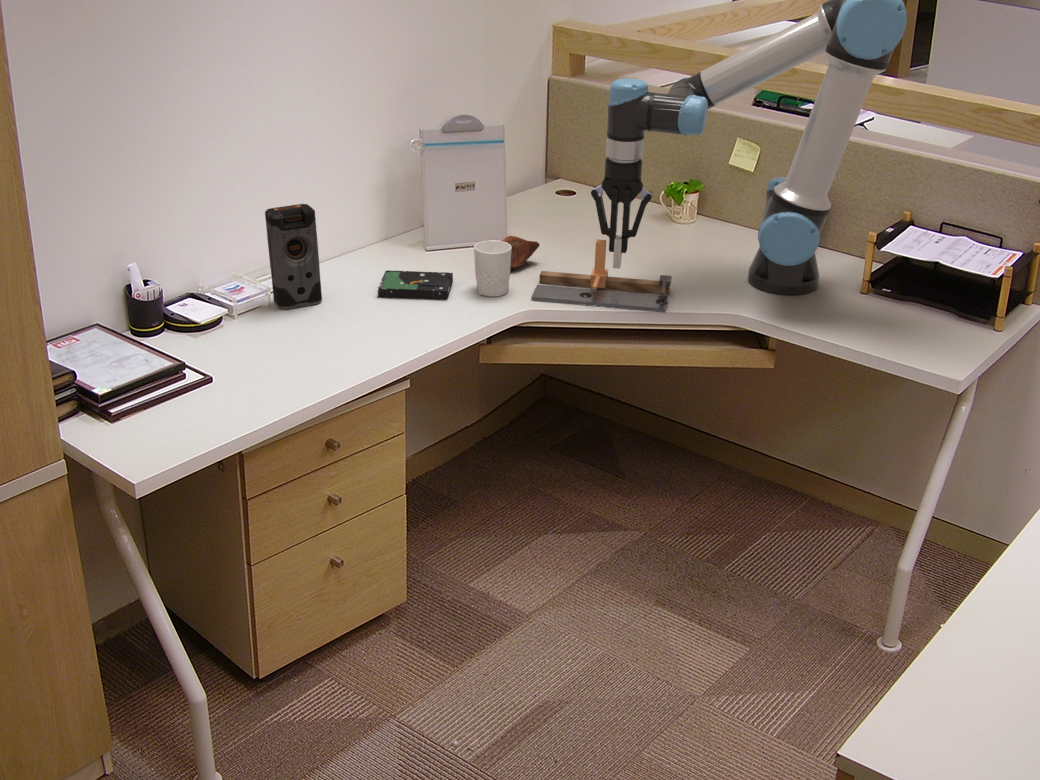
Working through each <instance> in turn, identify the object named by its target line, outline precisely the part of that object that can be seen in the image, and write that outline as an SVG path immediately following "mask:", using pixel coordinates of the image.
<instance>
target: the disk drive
mask: <svg viewBox="0 0 1040 780" xmlns="http://www.w3.org/2000/svg"><path fill="white" fill-rule="evenodd" d="M453 275H454V274H453V272H441V271H440V272H439V271H415V270H414V271H412V270H410V271H409V270H385V272H384V273H383V276H382V278H381V281H380V283H379V286H378V287H377V288H378V289H377V298H379V299H380V298H381V299H399V300H400V299H406V300H407V299H408V300H431V301H432V300H433V301H448V299H449V297H450V293H451V290H452V286H453V284H454V283H453V282H454V276H453Z"/></svg>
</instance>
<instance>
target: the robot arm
mask: <svg viewBox="0 0 1040 780" xmlns="http://www.w3.org/2000/svg"><path fill="white" fill-rule="evenodd" d="M907 12H908V11H907V9H906V5H905V3H904V0H827V1H825V2H823V3H821V4H820V6H819V7H818V10H817V12H816V13H814V14H812V15H810V16H808V17H806V18H803V19H802V20H799V21H797V22H795V23H794V24H792V25H789V26H788V27H786V28H784V29H782V30H780V31H778V32H776V33H774V34H772V35H770V36H768V37H765V38H764V39H762V40H760V41H758V42H756V43H754V44H752V45H750V46H749V47H747V48H744V49H743V50H741V51H739V52H737V53H735V54H732V55H731V56H729V57H727V58H724V59H723V60H721V61H718V62H717V63H715V64H713V65H711V66H708V67H707V68H705V69H703V70H701V71H700V72H698V73H695V74H694V75H693V74H692V76H688V77H683V78H680V79H679V80H677V81H676V82H675V83H673V85H672V86H671V87H670V88H669V91H668V93H664V92H662V93H660V92H659V93H658V92H652V91H649V90H650V89H649V88H648V87H649V85H648V82H646V81H645V80H643V79H637V78H627V77H626V78H618V79H616V80H614V81H613V82H612V83H610V88H609V98H608V103H607V107H608V108H607V112H608V113H607V132H606V142H605V144H606V145H605V155H606V158H605V161H604V163H605V164H604V177H603V180H602V182H601V184H600V185H598V186H597V187H596V186H594V187H592V189H591V191H590V195H591V197H592V198H593V200H594V202H595V208H596V212H597V213H596V214H597V217H598V222H599V227H600V234H602V235H603V236H605V235H606V236H607V237H609V240H608V241H609V242H608V252H610V253H613V256H612V257H613V258H612V259H613V260H612V269H616V270H617V269H619V270H620V268H621V266H622V254H626V253H627V250H628V247H629V246H628V244H629V243H628V242H629V239H630V238H635V237H636V236H637V234H638V231H639V227H640V224H641V222H642V218H643V216H644V212H645V209H646V206H647V205H648V204H649V202H650V201H651V200H652V197H653V194H654V193H653V192H652V191H651V190H649V191H648V190H647V189H646V188H644V184H643V182H642V173H643V172H642V168H643V160H642V158H643V155H644V144H645V143H644V141H645V132H654V133H655V132H656V133H664V134H673V135H674V134H676V135H683V136H700V135H703V133H704V132H705V128H706V124H707V119H708V110H709V109H711V108H713V107H716V106H717V105H719V104H721V103H723V102H725V101H727V100H730V99H731V98H734V97H735V96H737V95H739V94H742V93H744V92H746V91H748V90H750V89H752V88H753V87H754V88H755V87H756V86H758V85H760V84H763V83H765V82H767V81H768V80H770V79H773V78H775V77H777V76H778V75H781V74H783V73H785V72H788V71H790V70H791V69H793V68H795V67H797V66H800V65H801V64H804V63H805V62H807V61H810V60H812V59H814V58H816V57H818V56H820V55H823V54H825V55H826V58H827V59H828V66H827V67H826V68H827V69H826V71H825V73H824V77H823V80H822V82H821V84H820V87H819V90H818V92H817V95H816V98H815V101H814V103H813V105H812V109H811V111H810V114H809V117H808V119H807V122H806V125H805V126H804V127H805V128H804V131H803V133H802V135H801V138H800V140H799V143H798V147H797V148H796V152H795V154H794V157H793V159H792V163H790V167H789V170H788V173H787V175H786V176H779V177H778V176H777V177H772V178H771V179H770V180H768V182H767V188H766V189H765V193H766V194H765V196H766V197H765V201H764V202H765V203H764V208H763V214H762V218H761V223H760V226H759V228H758V232H757V235H758V236H757V240H758V244H759V246H758V250H757V251H756V253H755V255H754V257H753V259H752V262H751V264H750V265H749V268H748V274H747V275H748V276H747V281H748V282H749V283H750V285H752V286H753V287H755V288H757V289H758V290H760V291H763V292H768V293H771V294H777V295H785V296H786V295H787V296H790V295H791V296H792V295H793V296H795V295H796V296H797V295H804V294H809V293H811V292H813V291H816V290H817V289H818V287H819V281H820V272H819V267H818V261H817V256H816V251H817V249H818V248H819V245H820V239H821V233H822V231H823V228H824V225H825V222H826V221H827V217H828V215H829V214H830V210H831V208H832V203H831V200H830V199H829V197H828V194H829V191H830V189H831V186H832V184H833V181H834V179H835V176H836V175H837V171H838V168H839V165H840V164H841V161H842V158H843V156H844V154H845V151H846V148H847V146H848V144H849V141H850V138H851V136H852V134H853V130H854V128H855V126H856V123H857V120H858V118H859V116H860V113H861V111H862V108H863V106H864V103H865V100H866V98H867V96H868V93H869V90H870V88H871V86H872V82H873V80H874V78H875V77H876V76H878V75H880V74H882V73H884V72H885V71H886V70H887V68H888V67H889V66H888V65H889V63H890V61H891V58H892V56H893V53H894V51H895V49H896V47H897V46H898V45H899V44H900V41H902V39H903V36H904V35H905V32H906V30H907V29H906V28H907V23H908V13H907ZM604 193H605V195H606V196H607V197H608V200H610V203H611V205H610V221H609V224H608V219H607V215H606V208H605V205H604V204H605V203H604V200H603V198H604V197H603V196H604ZM638 195H640V197H639V198H640V200H641V201H640V203H639V207H638V210H637V213H636V215H635V219H634V222H633V225H632V227H631V229H630V217H631V216H630V215H631V204H632V202H633V201H634V200H635V199H636V197H638ZM619 203H622V205H623V206H622V208H623V211H622V223H621V224H622V225H621V227H622V228H621V235H620V234H617V231H618V230H617V229H618V215H619V214H618V212H619Z"/></svg>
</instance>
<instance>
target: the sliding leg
mask: <svg viewBox="0 0 1040 780" xmlns="http://www.w3.org/2000/svg"><path fill="white" fill-rule="evenodd" d="M594 250H595V253H594V267H593V268H592V272H591V274H590V275H591V282H590V287H593V288H592V289H593V294H596V293H597V290H598V288H605V286H606V278H607V276H608V277H609V268H608V269H607V268H606V255H607V239H596V241H595V249H594Z"/></svg>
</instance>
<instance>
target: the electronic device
mask: <svg viewBox="0 0 1040 780" xmlns="http://www.w3.org/2000/svg"><path fill="white" fill-rule="evenodd" d="M264 216H265V226H266V227H265V228H266V240H267V248H268V255H269V256H268V258H269V269H270V275H271V285H272V293H273V294H272V295H273V302H274V304H275V305H276V307H277V308H279V309H280V310H284V311H286V310H292V309H299V308H303V307H309V306H314V305H319V304H320V303H321V302H323V296H322V295H323V294H322V282H321V272H320V269H321V267H320V256H319V244H318V233H317V223H316V222H317V220H316V211H315V209H314V208H312V206H311V205H309V204H308V203H299V204H298V203H297V204H291V205H285V206H277V207H272V208H267V209H266V210H265V211H264Z"/></svg>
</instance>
